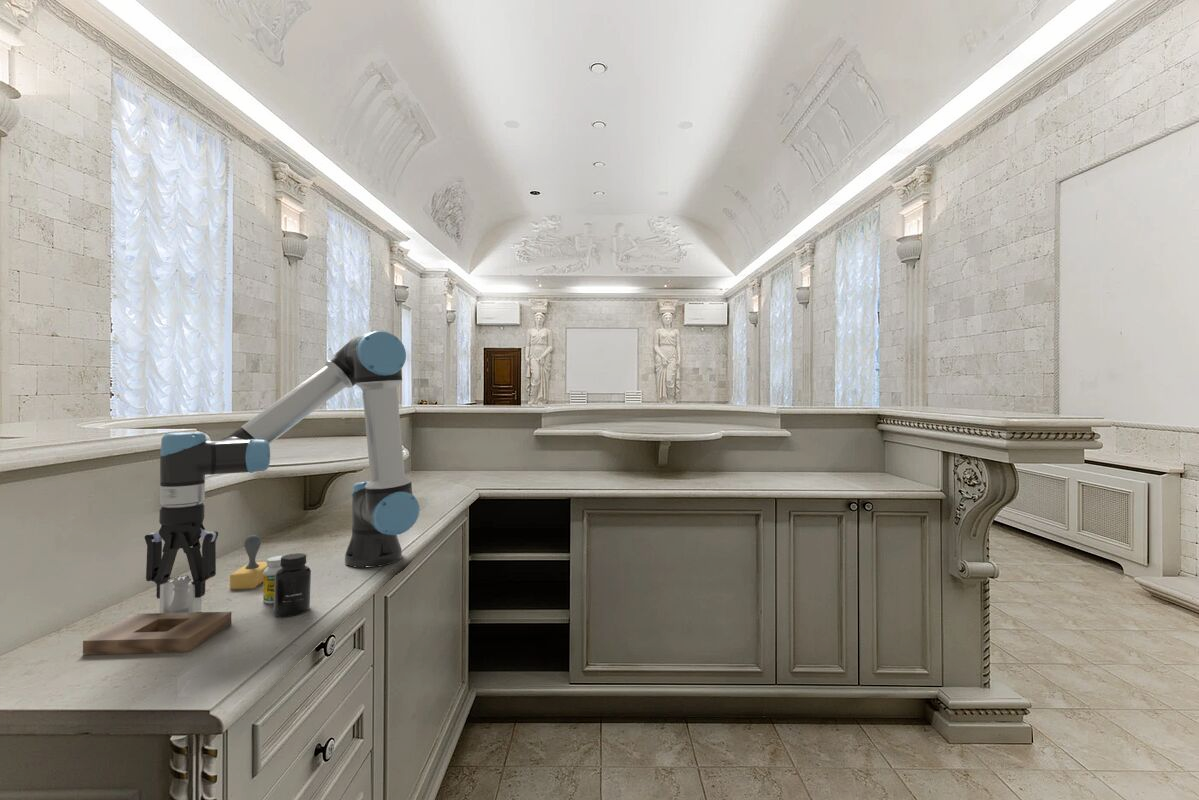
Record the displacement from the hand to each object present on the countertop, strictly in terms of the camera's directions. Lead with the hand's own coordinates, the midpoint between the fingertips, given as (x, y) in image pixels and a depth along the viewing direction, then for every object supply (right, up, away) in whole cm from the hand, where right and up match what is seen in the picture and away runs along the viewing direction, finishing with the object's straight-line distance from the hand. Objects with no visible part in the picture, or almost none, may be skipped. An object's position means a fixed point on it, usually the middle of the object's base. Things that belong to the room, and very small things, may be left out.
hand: (180, 612), depth 110 cm
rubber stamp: (+2, -1, +20) cm, 20 cm away
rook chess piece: (0, -1, 0) cm, 1 cm away
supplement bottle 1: (+15, -1, +8) cm, 18 cm away
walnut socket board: (+6, 0, -12) cm, 13 cm away
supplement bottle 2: (+23, -1, +2) cm, 23 cm away
